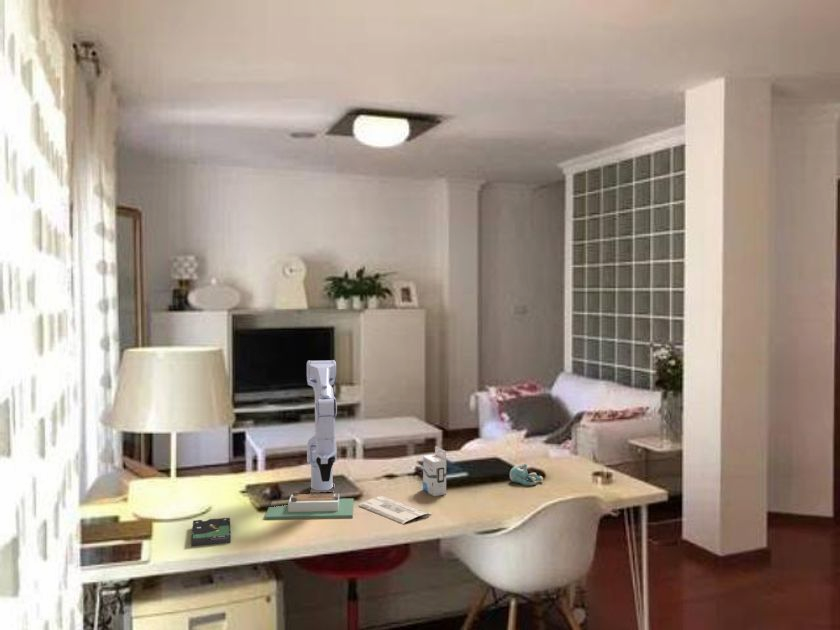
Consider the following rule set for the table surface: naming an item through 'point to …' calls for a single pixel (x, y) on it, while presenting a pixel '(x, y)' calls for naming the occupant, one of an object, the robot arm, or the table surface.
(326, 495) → the strip
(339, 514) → the board
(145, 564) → the table surface
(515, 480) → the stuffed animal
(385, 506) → the newspaper
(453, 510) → the table surface
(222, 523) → the disk drive
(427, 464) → the ink box
